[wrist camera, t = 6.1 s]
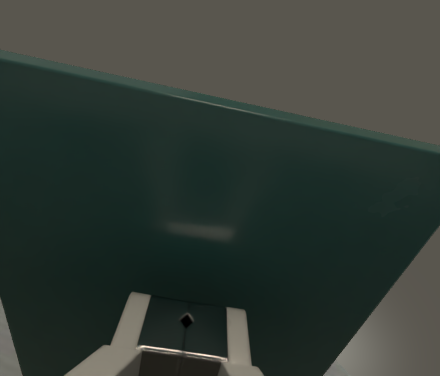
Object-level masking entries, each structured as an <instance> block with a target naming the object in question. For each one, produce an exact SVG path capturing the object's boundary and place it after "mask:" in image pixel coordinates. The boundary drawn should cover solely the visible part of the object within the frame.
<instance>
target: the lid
mask: <svg viewBox="0 0 440 376" xmlns="http://www.w3.org/2000/svg"><path fill="white" fill-rule="evenodd" d="M439 226H440V146H439V145H435V144H430V143H425V142H420V141H416V140H411V139H407V138H402V137H398V136H393V135H389V134H384V133H380V132H375V131H370V130H366V129H361V128H356V127H352V126H347V125H343V124H338V123H334V122H329V121H324V120H320V119H315V118H310V117H306V116H302V115H297V114H292V113H288V112H283V111H279V110H274V109H269V108H265V107H260V106H256V105H251V104H247V103H242V102H237V101H232V100H228V99H224V98H219V97H214V96H210V95H205V94H201V93H196V92H191V91H187V90H182V89H178V88H173V87H168V86H164V85H160V84H155V83H150V82H146V81H141V80H136V79H132V78H127V77H123V76H118V75H114V74H109V73H104V72H100V71H95V70H91V69H86V68H81V67H77V66H72V65H68V64H63V63H58V62H54V61H49V60H45V59H40V58H36V57H31V56H26V55H22V54H17V53H13V52H8V51H4V50H0V298H1V301H2V305H3V308H4V312H5V315H6V319H7V322H8V326H9V329H10V333H11V336H12V340H13V343H14V347H15V350H16V354H17V357H18V361H19V364H20V368H21V371H22V375H23V376H64V375H65V374H67V373H68V372H69V371H71V370H72V369H73V368H74V367H76V366H77V365H78V364H80V363H81V362H82V361H83V360H85V359H86V358H87V357H89V356H90V355H91V354H93V353H94V352H95V351H96V350H98V349H99V348H100V347H102V346H103V345H111V342H112V340H113V337H114V334H115V332H116V329H117V326H118V324H119V321H120V318H121V316H122V313H123V311H124V308H125V305H126V303H127V300H128V297H129V295H130V294H131V292H137V293H142V294H147V295H155V296H161V297H166V298H172V299H177V300H183V301H188V302H196V303H202V304H209V305H216V306H223V307H230V308H237V309H244V310H245V312H246V317H247V326H248V335H249V344H250V354H251V363H252V366H255V367H258V368H259V369H260V371H261V372H262V373H263V375H264V376H323V375H324V374H325V372H326V371H327V370H328V369H329V367H330V366H331V365H332V363H333V362H334V361H335V360H336V358H337V357H338V356H339V354H340V353H341V352H342V351H343V349H344V348H345V347H346V345H347V344H348V343H349V342H350V340H351V339H352V338H353V336H354V335H355V334H356V333H357V331H358V330H359V329H360V327H361V326H362V325H363V324H364V322H365V321H366V320H367V318H368V317H369V316H370V315H371V313H372V312H373V311H374V309H375V308H376V307H377V306H378V304H379V303H380V302H381V300H382V299H383V298H384V297H385V295H386V294H387V293H388V291H389V290H390V289H391V288H392V286H393V285H394V284H395V282H396V281H397V280H398V279H399V277H400V276H401V275H402V273H403V272H404V271H405V269H406V268H407V267H408V266H409V264H410V263H411V262H412V261H413V259H414V258H415V257H416V255H417V254H418V253H419V252H420V250H421V249H422V248H423V246H424V245H425V244H426V243H427V241H428V240H429V239H430V237H431V236H432V235H433V234H434V232H435V231H436V230H437V228H438V227H439Z"/></svg>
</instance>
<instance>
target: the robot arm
mask: <svg viewBox="0 0 440 376" xmlns="http://www.w3.org/2000/svg"><path fill="white" fill-rule="evenodd" d="M64 376H264V375H263V373H262V372H261V371H260V369H259V368H258V367H255V366H252V363H251V354H250V344H249V335H248V326H247V317H246V312H245V310H244V309H237V308H230V307H223V306H216V305H209V304H202V303H196V302H188V301H183V300H177V299H172V298H166V297H161V296H155V295H147V294H142V293H137V292H131V294H130V295H129V297H128V300H127V303H126V305H125V308H124V311H123V313H122V316H121V318H120V321H119V324H118V326H117V329H116V332H115V334H114V337H113V340H112V342H111V345H103V346H102V347H100V348H99V349H98V350H96V351H95V352H94V353H93V354H91V355H90V356H89V357H87V358H86V359H85V360H83V361H82V362H81V363H80V364H78V365H77V366H76V367H74V368H73V369H72V370H71V371H69V372H68V373H67V374H65V375H64Z"/></svg>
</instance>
